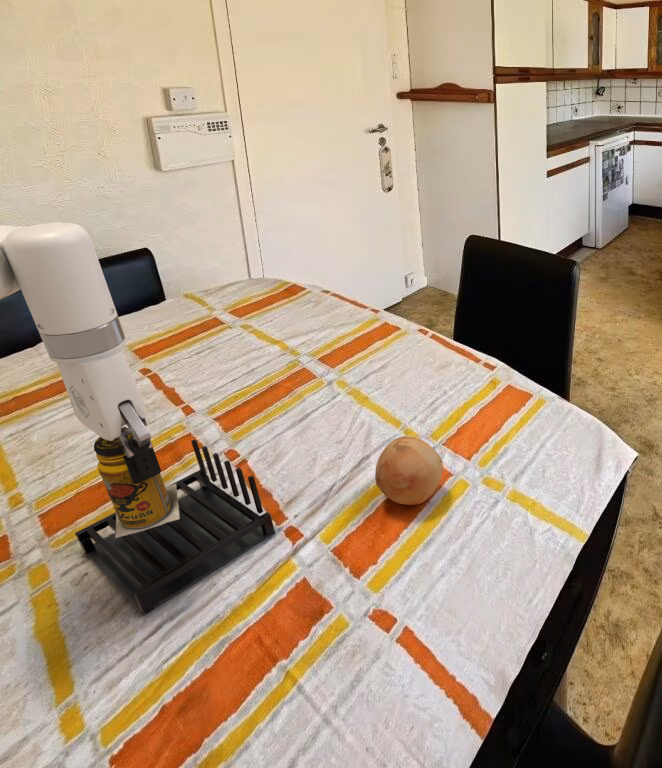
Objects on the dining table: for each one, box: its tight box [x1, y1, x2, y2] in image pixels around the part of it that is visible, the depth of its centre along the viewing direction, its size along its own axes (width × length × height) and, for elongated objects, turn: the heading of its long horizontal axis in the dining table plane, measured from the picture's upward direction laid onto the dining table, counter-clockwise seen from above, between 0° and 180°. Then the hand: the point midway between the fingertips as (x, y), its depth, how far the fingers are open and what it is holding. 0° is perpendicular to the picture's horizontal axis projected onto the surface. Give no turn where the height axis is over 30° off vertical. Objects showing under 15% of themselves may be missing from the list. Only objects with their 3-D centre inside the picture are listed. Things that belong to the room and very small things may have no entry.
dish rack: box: [74, 439, 276, 616], centre depth 84 cm, size 18×18×9 cm
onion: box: [374, 436, 444, 506], centre depth 91 cm, size 10×10×10 cm
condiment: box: [93, 427, 180, 538], centre depth 79 cm, size 7×8×12 cm
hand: (134, 466), depth 78 cm, fingers closed on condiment, 6 cm apart
